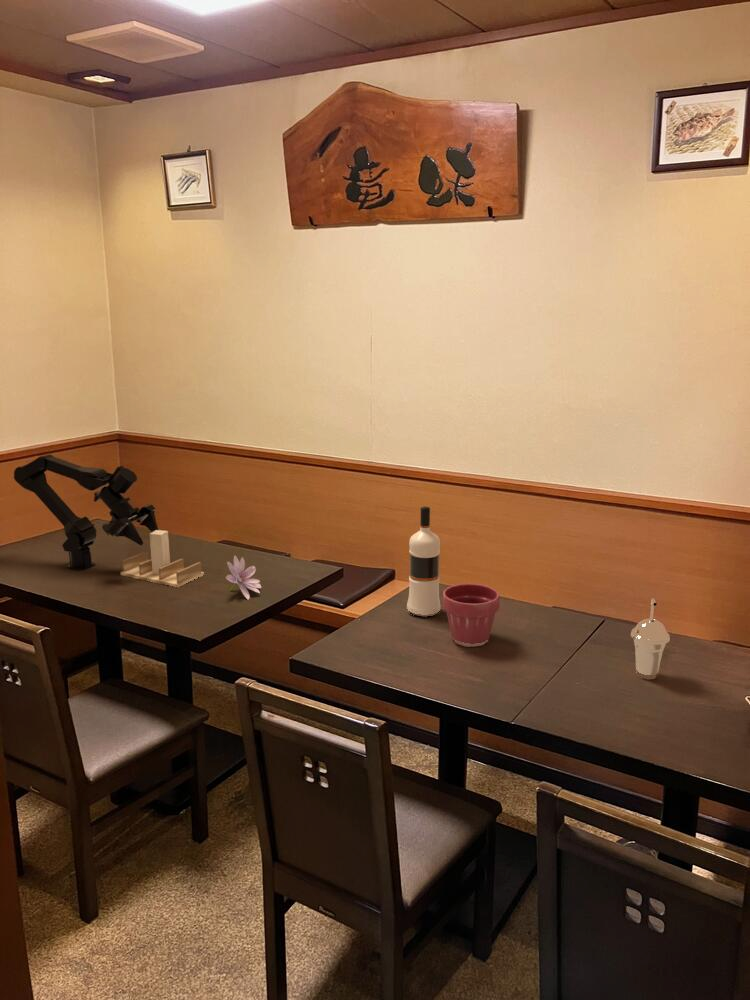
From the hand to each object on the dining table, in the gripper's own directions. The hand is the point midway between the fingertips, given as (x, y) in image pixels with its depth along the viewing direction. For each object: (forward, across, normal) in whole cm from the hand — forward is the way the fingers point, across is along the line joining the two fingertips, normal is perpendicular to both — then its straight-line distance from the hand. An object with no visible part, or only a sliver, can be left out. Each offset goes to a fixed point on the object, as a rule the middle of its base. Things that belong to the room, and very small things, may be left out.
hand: (150, 540), depth 247 cm
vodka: (+70, +6, +55) cm, 89 cm away
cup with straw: (+110, +28, +96) cm, 148 cm away
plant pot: (+80, +20, +66) cm, 106 cm away
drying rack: (+10, 0, -6) cm, 12 cm away
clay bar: (+10, 0, -5) cm, 11 cm away
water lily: (+32, +7, +16) cm, 37 cm away
